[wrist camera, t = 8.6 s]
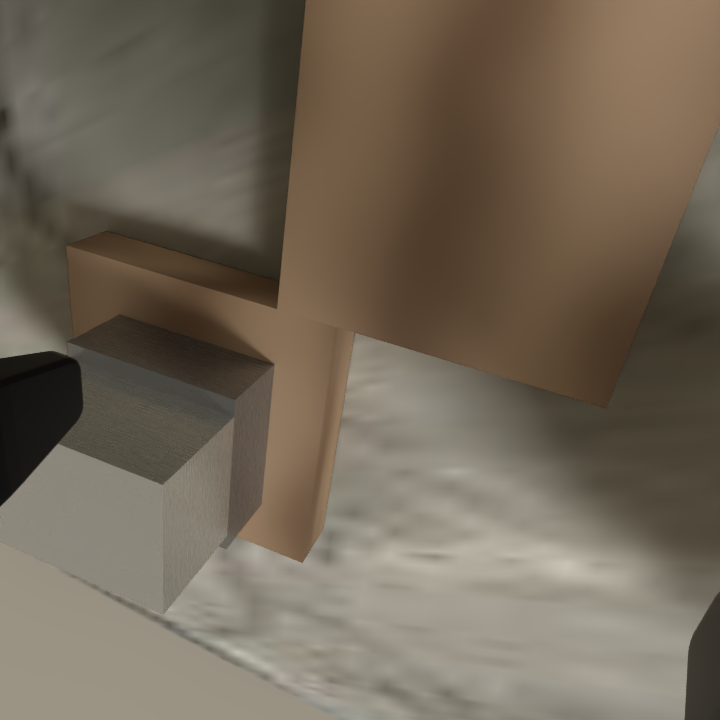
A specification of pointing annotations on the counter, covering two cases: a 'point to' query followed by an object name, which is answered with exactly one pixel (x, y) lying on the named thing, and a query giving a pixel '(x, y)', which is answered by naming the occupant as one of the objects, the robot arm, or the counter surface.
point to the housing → (148, 462)
